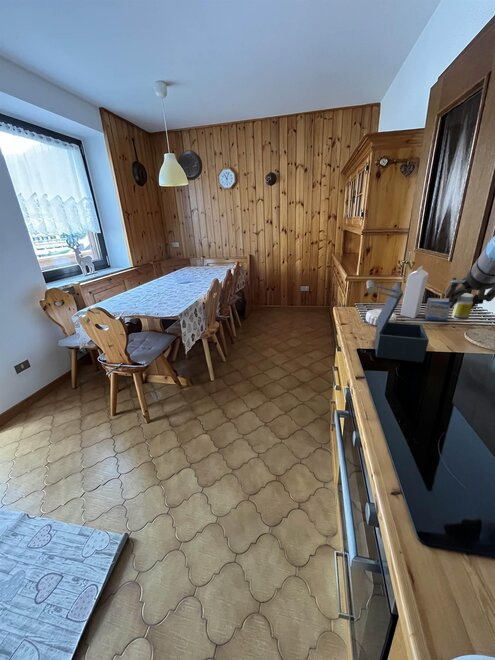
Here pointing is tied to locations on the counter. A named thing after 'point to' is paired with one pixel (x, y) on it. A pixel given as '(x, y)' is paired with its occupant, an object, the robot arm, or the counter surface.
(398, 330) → the compartment
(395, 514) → the counter surface
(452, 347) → the counter surface
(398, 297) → the compartment lid
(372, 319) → the mooncake
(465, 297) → the supplement bottle
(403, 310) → the milk
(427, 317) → the medicine box
